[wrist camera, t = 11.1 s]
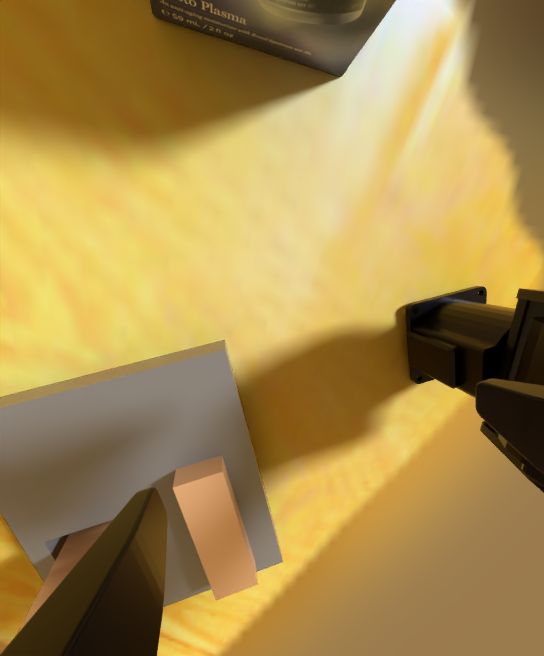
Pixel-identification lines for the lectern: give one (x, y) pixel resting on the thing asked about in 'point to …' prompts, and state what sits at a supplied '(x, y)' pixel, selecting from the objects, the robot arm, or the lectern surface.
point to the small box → (285, 26)
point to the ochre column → (66, 563)
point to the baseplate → (142, 467)
